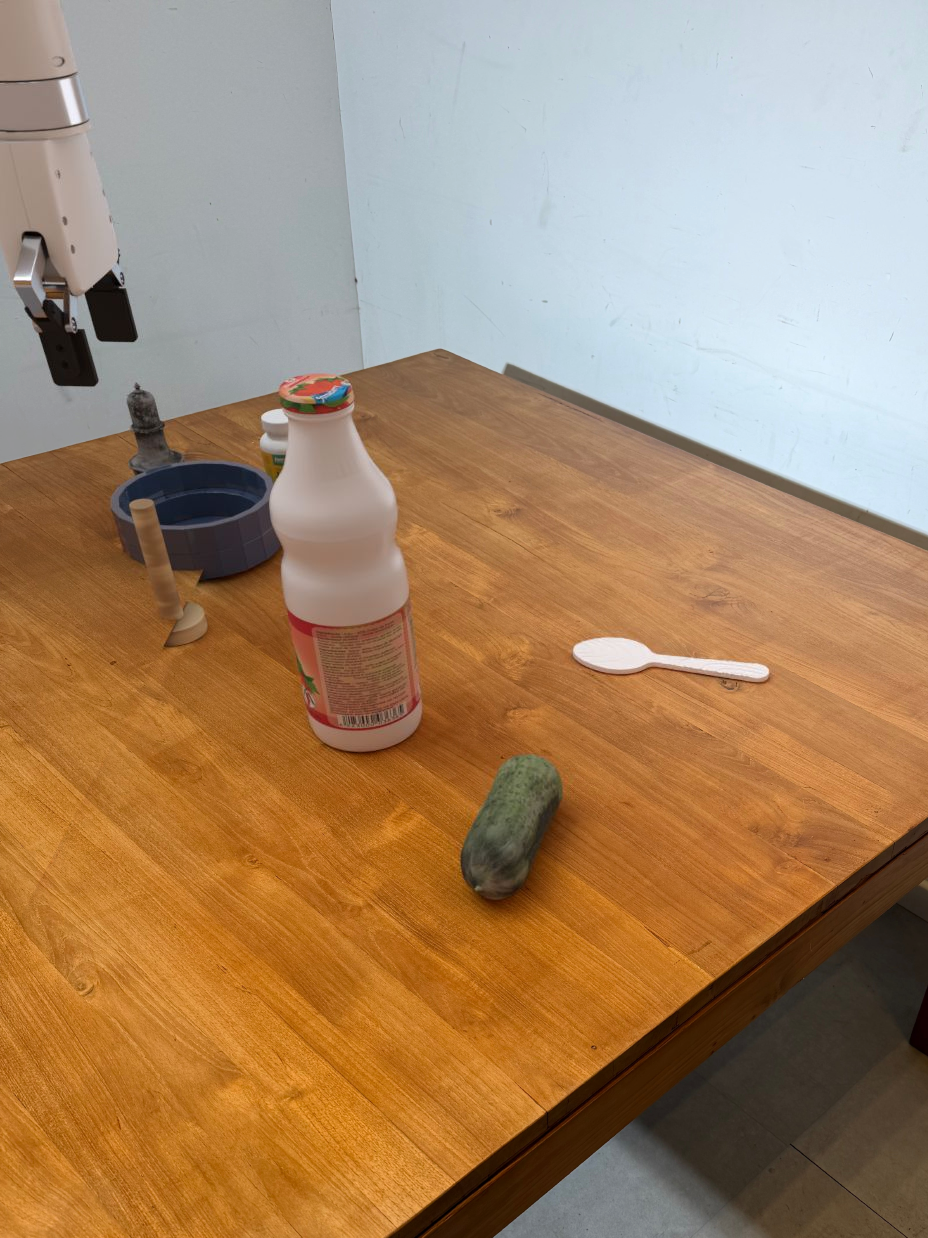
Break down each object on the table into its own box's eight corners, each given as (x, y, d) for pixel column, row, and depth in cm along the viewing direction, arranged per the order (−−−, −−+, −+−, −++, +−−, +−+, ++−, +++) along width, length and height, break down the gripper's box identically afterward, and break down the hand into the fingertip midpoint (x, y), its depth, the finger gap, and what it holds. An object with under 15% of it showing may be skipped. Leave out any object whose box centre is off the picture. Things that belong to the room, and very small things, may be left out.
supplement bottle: (314, 487, 127) (300, 402, 121) (326, 507, 124) (312, 421, 117) (266, 495, 126) (249, 410, 119) (277, 515, 122) (260, 428, 116)
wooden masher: (136, 646, 102) (97, 518, 94) (154, 614, 106) (118, 488, 98) (199, 646, 102) (165, 519, 94) (214, 614, 107) (183, 489, 98)
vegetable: (506, 787, 89) (503, 736, 85) (569, 797, 88) (569, 746, 85) (446, 909, 78) (440, 857, 75) (517, 922, 78) (515, 870, 74)
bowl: (106, 584, 110) (88, 527, 106) (152, 512, 122) (138, 458, 118) (266, 586, 111) (254, 530, 107) (297, 514, 122) (288, 461, 118)
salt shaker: (126, 499, 124) (94, 389, 116) (154, 477, 128) (126, 369, 120) (174, 505, 123) (146, 395, 115) (201, 483, 127) (176, 376, 119)
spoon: (766, 692, 99) (766, 687, 99) (566, 667, 101) (566, 662, 101) (771, 660, 103) (772, 655, 103) (579, 636, 105) (579, 631, 105)
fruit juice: (384, 767, 90) (332, 422, 71) (286, 736, 93) (212, 396, 74) (444, 706, 97) (412, 374, 78) (352, 678, 99) (299, 352, 81)
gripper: (19, 82, 83) (87, 325, 95) (-86, 129, 70) (7, 403, 82) (122, 85, 83) (177, 326, 95) (35, 132, 70) (111, 405, 82)
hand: (98, 362), depth 88 cm, fingers open, 9 cm apart
